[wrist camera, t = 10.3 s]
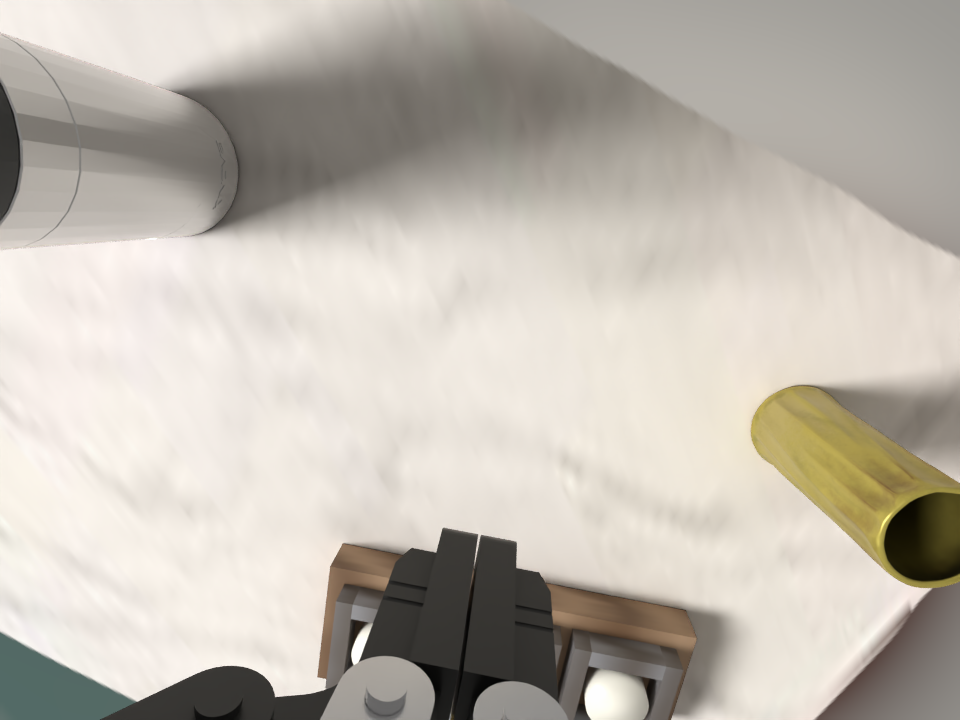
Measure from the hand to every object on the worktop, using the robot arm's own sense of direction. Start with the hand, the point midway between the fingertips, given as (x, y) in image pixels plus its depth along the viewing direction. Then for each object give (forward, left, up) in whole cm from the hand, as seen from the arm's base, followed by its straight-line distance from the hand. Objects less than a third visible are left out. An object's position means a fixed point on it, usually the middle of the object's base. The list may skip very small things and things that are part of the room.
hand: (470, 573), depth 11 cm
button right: (+12, -25, -26) cm, 38 cm away
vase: (+21, -4, -29) cm, 36 cm away
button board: (+4, -25, -29) cm, 38 cm away
